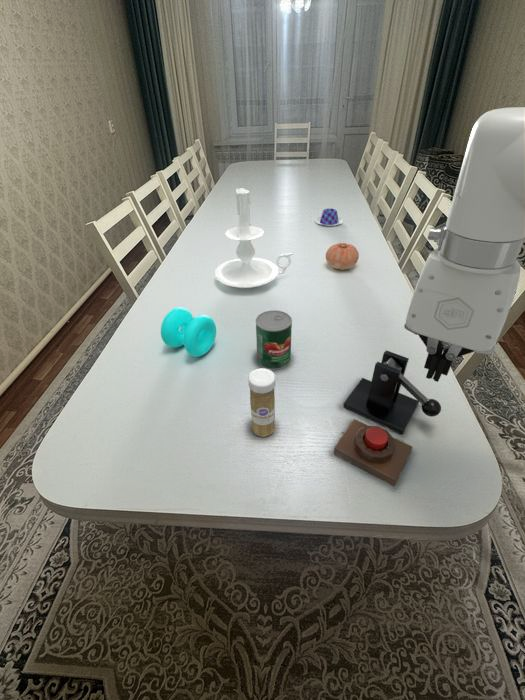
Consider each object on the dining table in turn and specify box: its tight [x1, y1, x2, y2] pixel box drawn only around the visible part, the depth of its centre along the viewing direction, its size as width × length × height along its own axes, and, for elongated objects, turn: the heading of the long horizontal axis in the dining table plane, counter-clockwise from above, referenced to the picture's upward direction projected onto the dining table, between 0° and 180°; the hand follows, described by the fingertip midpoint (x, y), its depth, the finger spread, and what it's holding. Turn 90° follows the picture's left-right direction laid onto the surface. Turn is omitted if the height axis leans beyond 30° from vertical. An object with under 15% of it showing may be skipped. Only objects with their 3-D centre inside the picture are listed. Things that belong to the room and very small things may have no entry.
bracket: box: [343, 349, 420, 435], centre depth 68 cm, size 12×9×12 cm
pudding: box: [314, 208, 344, 227], centre depth 154 cm, size 12×12×5 cm
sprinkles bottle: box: [248, 367, 276, 438], centre depth 64 cm, size 5×5×14 cm
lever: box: [383, 358, 442, 418], centre depth 65 cm, size 13×3×3 cm
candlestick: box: [213, 187, 293, 289], centre depth 107 cm, size 21×25×28 cm
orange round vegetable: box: [325, 242, 360, 271], centre depth 119 cm, size 11×11×8 cm
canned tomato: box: [255, 310, 293, 371], centre depth 81 cm, size 8×8×11 cm
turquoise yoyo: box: [160, 306, 217, 358], centre depth 85 cm, size 10×10×10 cm
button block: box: [333, 418, 413, 487], centre depth 62 cm, size 11×8×4 cm
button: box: [364, 427, 388, 451], centre depth 61 cm, size 4×4×2 cm
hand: (434, 374), depth 50 cm, fingers closed
